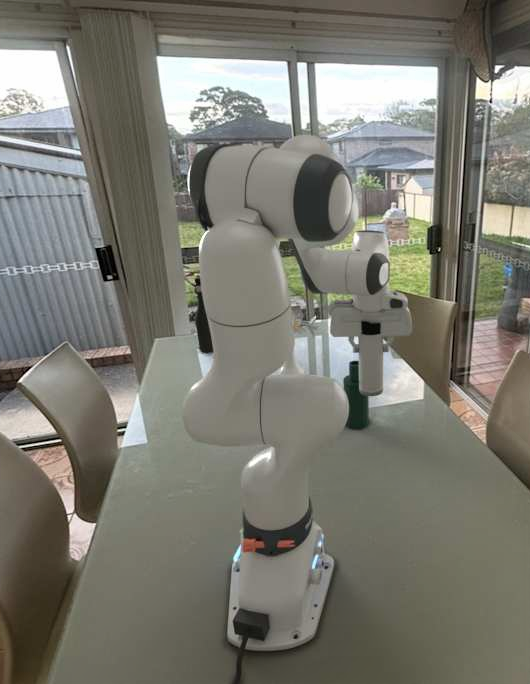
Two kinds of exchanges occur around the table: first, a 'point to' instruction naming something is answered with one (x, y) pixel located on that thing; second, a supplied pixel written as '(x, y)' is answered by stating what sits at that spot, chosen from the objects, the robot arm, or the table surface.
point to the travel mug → (370, 359)
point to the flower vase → (291, 364)
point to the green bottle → (356, 399)
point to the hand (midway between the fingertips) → (371, 351)
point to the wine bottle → (202, 322)
